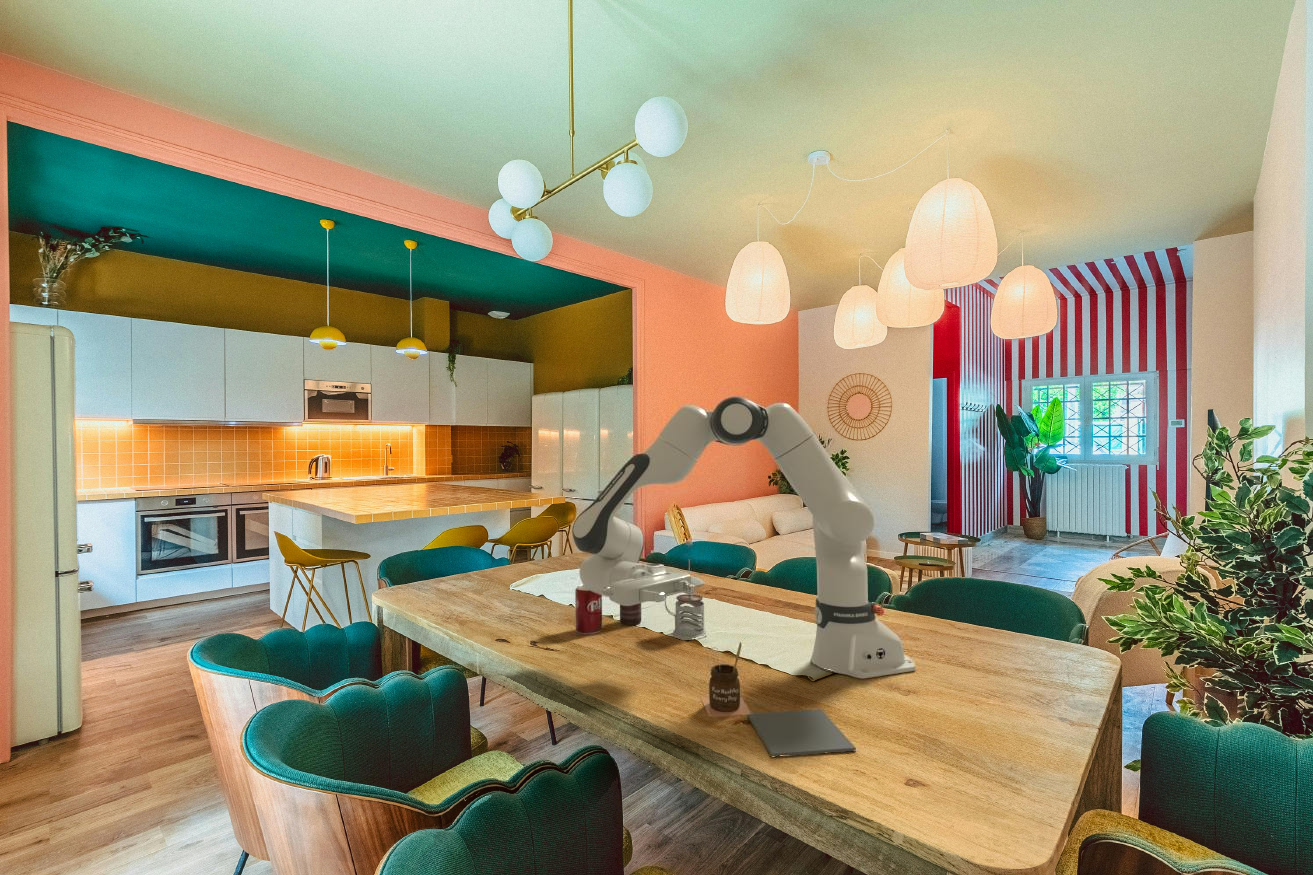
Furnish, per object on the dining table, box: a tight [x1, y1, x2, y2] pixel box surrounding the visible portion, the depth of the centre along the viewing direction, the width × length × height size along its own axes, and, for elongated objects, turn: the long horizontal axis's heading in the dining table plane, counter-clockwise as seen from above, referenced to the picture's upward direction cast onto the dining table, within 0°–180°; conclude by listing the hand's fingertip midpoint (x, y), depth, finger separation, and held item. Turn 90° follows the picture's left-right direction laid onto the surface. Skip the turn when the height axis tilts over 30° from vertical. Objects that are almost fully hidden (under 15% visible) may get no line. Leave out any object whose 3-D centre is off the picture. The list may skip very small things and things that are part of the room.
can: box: [619, 603, 642, 627], centre depth 164 cm, size 6×6×14 cm
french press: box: [664, 539, 707, 641], centre depth 154 cm, size 10×12×25 cm
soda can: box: [574, 584, 603, 636], centre depth 157 cm, size 7×7×12 cm
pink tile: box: [700, 695, 752, 718], centre depth 110 cm, size 8×8×1 cm
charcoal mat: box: [747, 708, 857, 757], centre depth 99 cm, size 14×14×1 cm
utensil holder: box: [707, 641, 743, 712], centre depth 110 cm, size 6×6×12 cm
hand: (678, 593), depth 119 cm, fingers open, 8 cm apart
